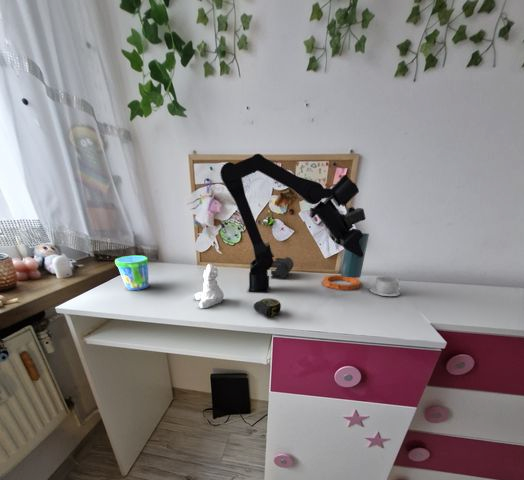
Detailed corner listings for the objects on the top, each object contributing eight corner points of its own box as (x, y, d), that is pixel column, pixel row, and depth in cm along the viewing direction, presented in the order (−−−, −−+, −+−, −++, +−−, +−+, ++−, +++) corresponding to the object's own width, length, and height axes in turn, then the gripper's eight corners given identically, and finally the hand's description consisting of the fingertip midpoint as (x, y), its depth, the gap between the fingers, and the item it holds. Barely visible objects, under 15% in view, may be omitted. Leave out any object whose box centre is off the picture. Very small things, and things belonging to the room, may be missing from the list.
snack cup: (155, 292, 95) (148, 262, 90) (122, 296, 92) (113, 265, 86) (151, 279, 107) (146, 253, 102) (122, 282, 104) (115, 255, 98)
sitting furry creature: (194, 298, 90) (189, 261, 84) (219, 295, 93) (217, 259, 87) (200, 309, 83) (196, 269, 76) (228, 305, 86) (225, 266, 79)
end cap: (287, 280, 108) (288, 262, 105) (270, 278, 110) (271, 261, 107) (293, 273, 116) (294, 257, 113) (277, 272, 118) (277, 256, 115)
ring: (325, 289, 100) (325, 284, 99) (321, 278, 111) (322, 274, 110) (363, 290, 99) (363, 286, 98) (355, 279, 110) (356, 275, 109)
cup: (349, 278, 92) (357, 233, 86) (336, 274, 98) (343, 232, 92) (364, 277, 95) (373, 234, 89) (351, 274, 101) (358, 232, 95)
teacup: (365, 292, 97) (367, 279, 94) (376, 286, 103) (379, 273, 101) (393, 299, 91) (397, 286, 88) (403, 292, 97) (407, 279, 95)
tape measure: (252, 312, 81) (252, 300, 79) (271, 307, 84) (271, 296, 82) (265, 320, 76) (266, 308, 74) (285, 315, 79) (285, 303, 77)
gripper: (363, 199, 77) (391, 241, 83) (343, 196, 92) (368, 232, 99) (331, 229, 80) (360, 267, 86) (318, 222, 96) (343, 254, 102)
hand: (358, 253), depth 93 cm, fingers closed on cup, 7 cm apart
